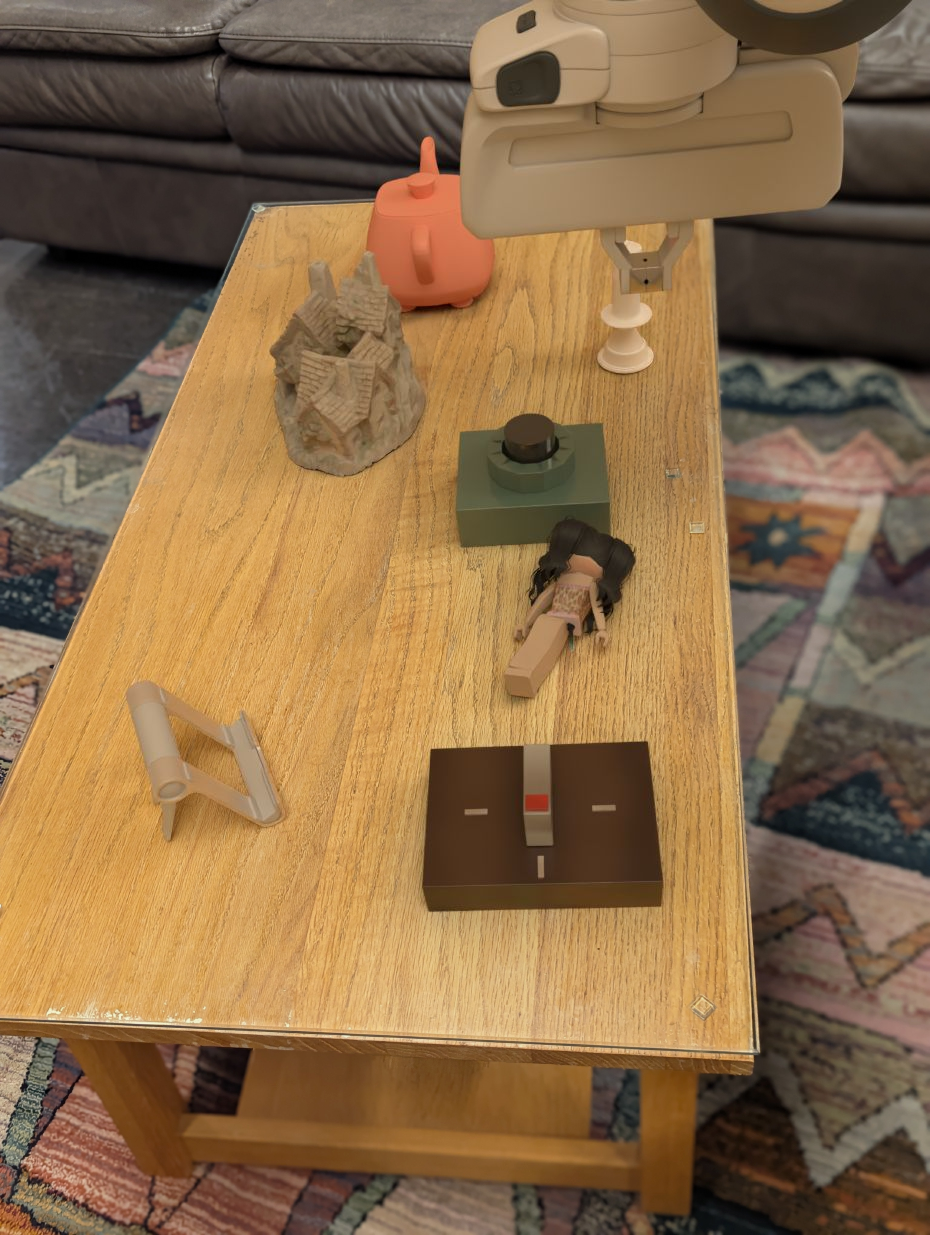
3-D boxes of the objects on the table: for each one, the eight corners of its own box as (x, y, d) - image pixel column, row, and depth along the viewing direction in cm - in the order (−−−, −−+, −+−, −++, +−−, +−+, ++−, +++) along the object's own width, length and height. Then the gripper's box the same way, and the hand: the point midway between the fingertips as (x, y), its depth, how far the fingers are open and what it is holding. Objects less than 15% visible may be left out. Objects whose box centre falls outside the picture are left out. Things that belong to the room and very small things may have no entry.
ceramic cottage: (325, 347, 109) (291, 211, 97) (458, 396, 102) (439, 256, 90) (222, 440, 101) (172, 306, 90) (358, 501, 94) (323, 363, 83)
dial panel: (646, 767, 71) (648, 739, 69) (661, 906, 64) (663, 880, 62) (435, 774, 72) (430, 746, 70) (428, 912, 65) (421, 886, 63)
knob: (554, 432, 87) (554, 411, 85) (556, 463, 84) (555, 442, 83) (505, 435, 87) (503, 414, 86) (505, 466, 85) (503, 446, 83)
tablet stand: (288, 819, 71) (258, 744, 65) (173, 868, 69) (130, 796, 63) (252, 726, 76) (221, 649, 70) (145, 770, 75) (103, 694, 69)
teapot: (498, 234, 121) (489, 124, 113) (496, 332, 108) (486, 216, 99) (381, 243, 123) (363, 136, 114) (365, 341, 109) (343, 228, 100)
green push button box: (602, 460, 93) (602, 402, 88) (610, 539, 86) (610, 481, 82) (464, 468, 94) (457, 411, 89) (460, 547, 87) (452, 490, 83)
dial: (526, 776, 68) (523, 741, 65) (552, 776, 68) (549, 740, 65) (526, 846, 64) (522, 812, 62) (553, 846, 64) (550, 811, 61)
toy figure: (595, 715, 75) (644, 560, 83) (581, 658, 70) (635, 501, 79) (498, 702, 77) (556, 553, 86) (479, 646, 73) (542, 495, 82)
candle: (653, 341, 104) (657, 224, 95) (654, 373, 100) (658, 255, 92) (597, 343, 105) (596, 226, 96) (596, 375, 101) (595, 257, 92)
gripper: (851, -13, 54) (817, 245, 64) (446, 33, 56) (475, 275, 66) (880, 32, 50) (839, 301, 60) (440, 80, 52) (472, 331, 62)
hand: (645, 288), depth 63 cm, fingers closed
